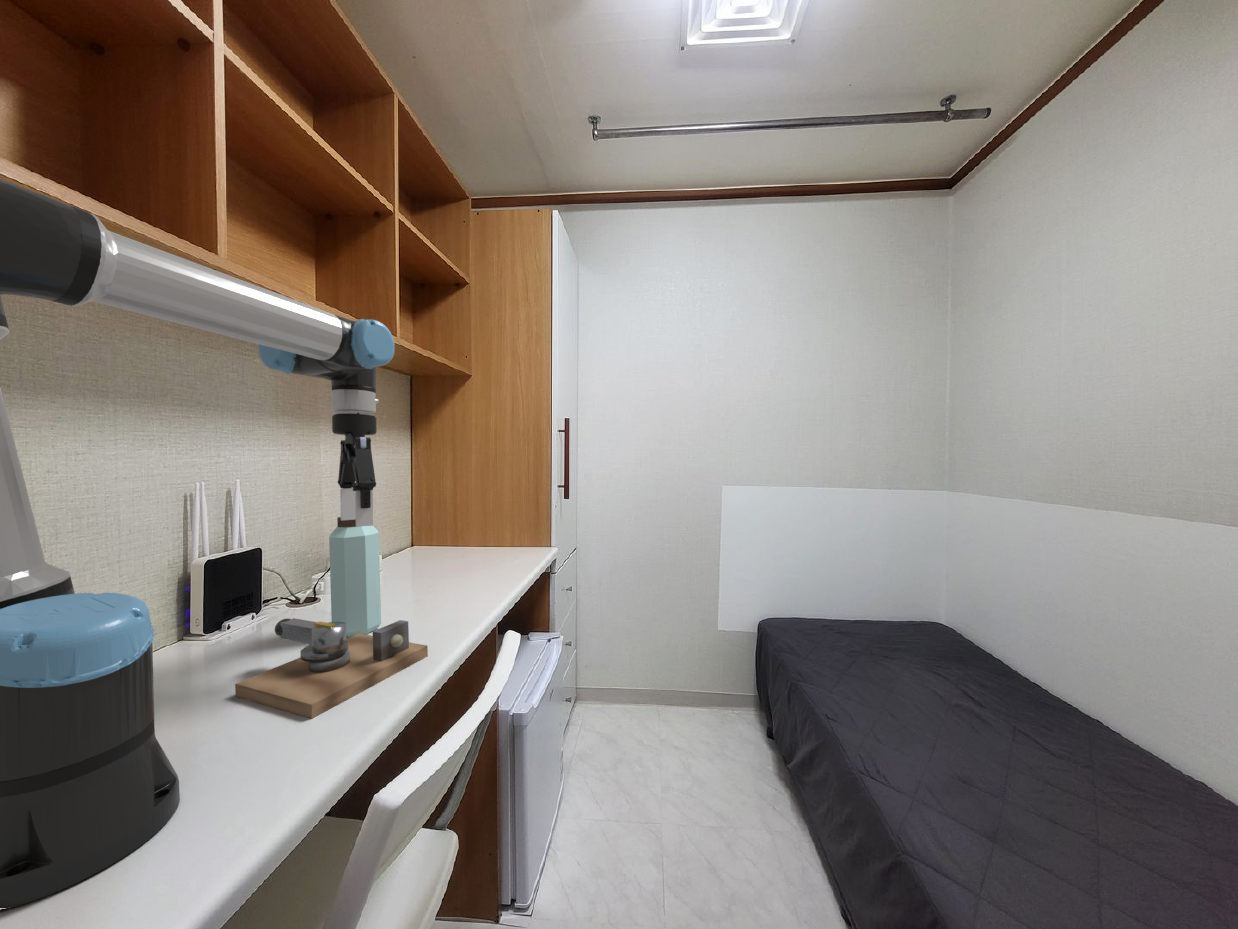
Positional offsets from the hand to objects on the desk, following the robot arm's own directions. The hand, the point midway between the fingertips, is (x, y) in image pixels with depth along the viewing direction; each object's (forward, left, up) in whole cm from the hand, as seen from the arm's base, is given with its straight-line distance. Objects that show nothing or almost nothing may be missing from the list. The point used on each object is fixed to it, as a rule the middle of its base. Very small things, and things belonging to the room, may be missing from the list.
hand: (356, 523), depth 90 cm
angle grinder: (-10, 0, -21) cm, 23 cm away
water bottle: (+7, +10, -25) cm, 28 cm away
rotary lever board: (-9, -6, -25) cm, 27 cm away
